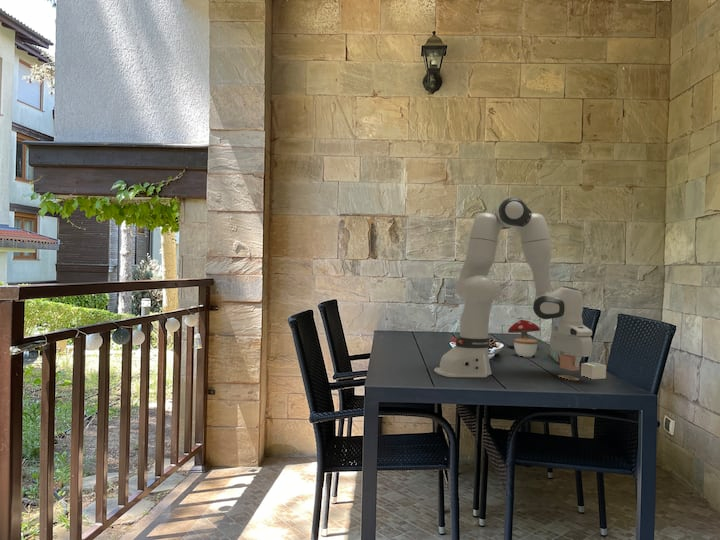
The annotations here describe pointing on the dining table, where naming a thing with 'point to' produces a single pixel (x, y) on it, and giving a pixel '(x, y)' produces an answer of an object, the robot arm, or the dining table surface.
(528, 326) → the decorative mushroom
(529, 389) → the dining table surface
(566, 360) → the stub
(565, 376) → the stub mat
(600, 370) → the block
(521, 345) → the lidded jar
